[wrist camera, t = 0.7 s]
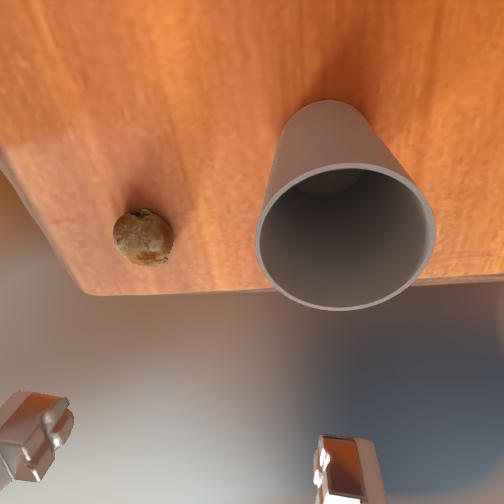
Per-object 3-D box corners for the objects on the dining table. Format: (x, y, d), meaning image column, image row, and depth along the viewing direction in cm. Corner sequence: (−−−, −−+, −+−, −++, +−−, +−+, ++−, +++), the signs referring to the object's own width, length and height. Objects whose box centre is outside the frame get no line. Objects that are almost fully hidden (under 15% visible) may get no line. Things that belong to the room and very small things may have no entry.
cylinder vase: (391, 144, 41) (475, 246, 21) (322, 206, 48) (335, 331, 27) (324, 75, 38) (348, 117, 18) (259, 153, 44) (222, 249, 24)
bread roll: (176, 206, 55) (154, 207, 48) (183, 263, 57) (162, 272, 49) (126, 211, 57) (97, 212, 50) (134, 265, 59) (107, 275, 51)
